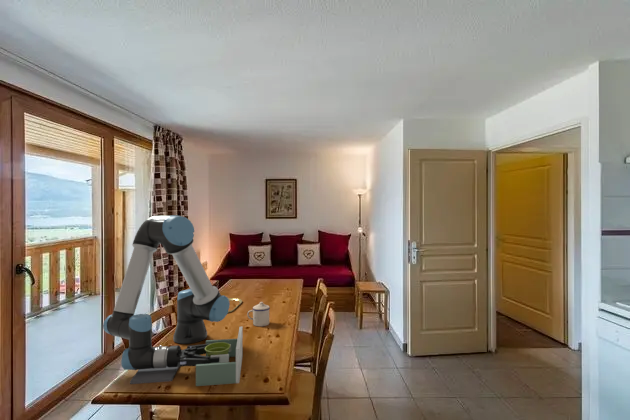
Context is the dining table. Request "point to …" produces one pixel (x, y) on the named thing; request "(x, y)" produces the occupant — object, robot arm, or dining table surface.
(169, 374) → the slate mat
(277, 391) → the dining table surface
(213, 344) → the plant pot
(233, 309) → the brass wire loop
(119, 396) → the dining table surface
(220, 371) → the grey-green angled panels
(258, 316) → the teacup with lid
